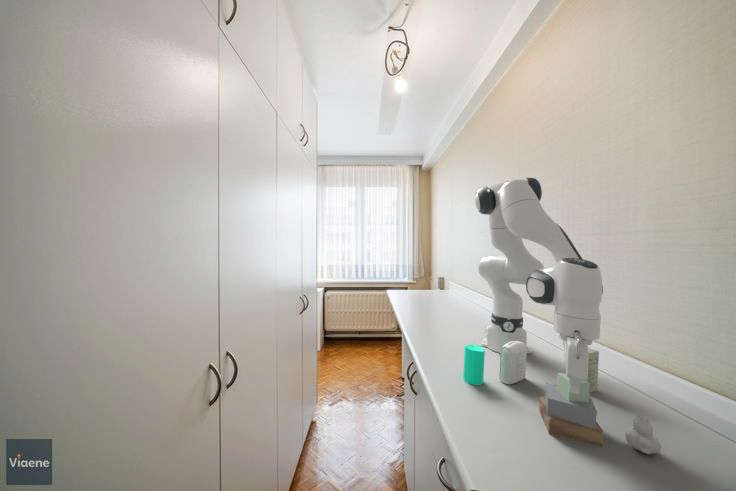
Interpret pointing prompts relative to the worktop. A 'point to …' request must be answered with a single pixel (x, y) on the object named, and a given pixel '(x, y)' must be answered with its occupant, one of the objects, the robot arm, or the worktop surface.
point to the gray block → (569, 408)
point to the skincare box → (593, 369)
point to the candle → (473, 364)
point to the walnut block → (570, 428)
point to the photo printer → (513, 362)
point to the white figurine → (642, 436)
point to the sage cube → (564, 389)
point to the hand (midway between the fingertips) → (573, 383)
